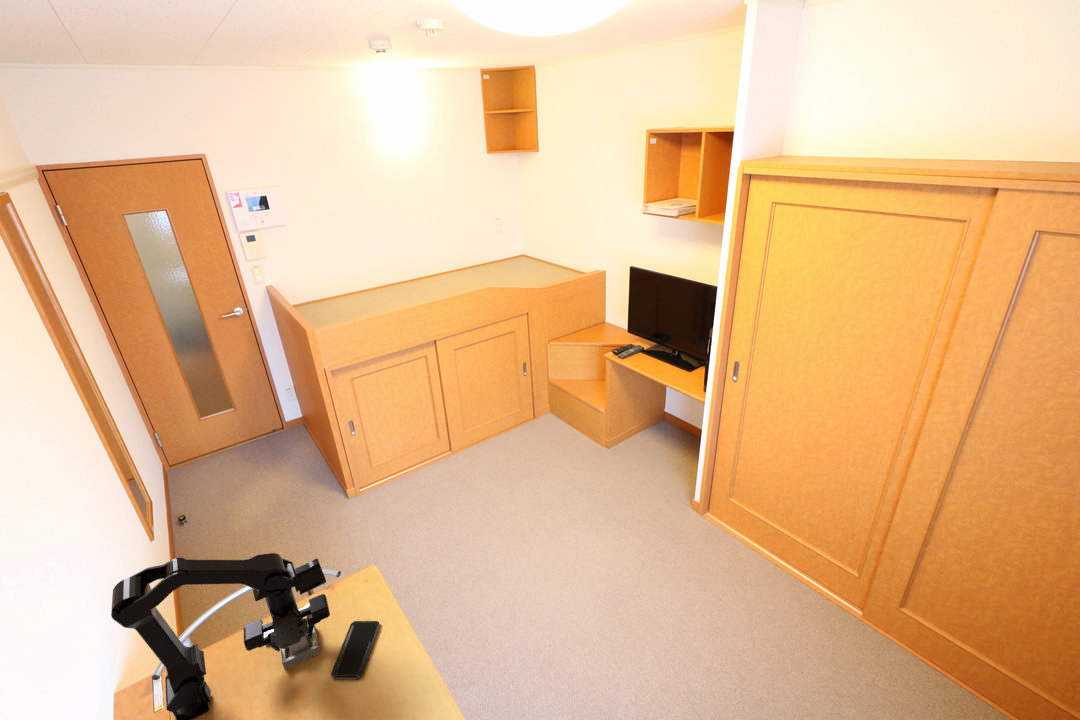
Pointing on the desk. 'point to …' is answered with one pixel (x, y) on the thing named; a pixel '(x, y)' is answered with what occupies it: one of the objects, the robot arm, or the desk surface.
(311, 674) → the desk surface
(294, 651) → the block
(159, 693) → the desk surface
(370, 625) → the phone
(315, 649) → the frame
